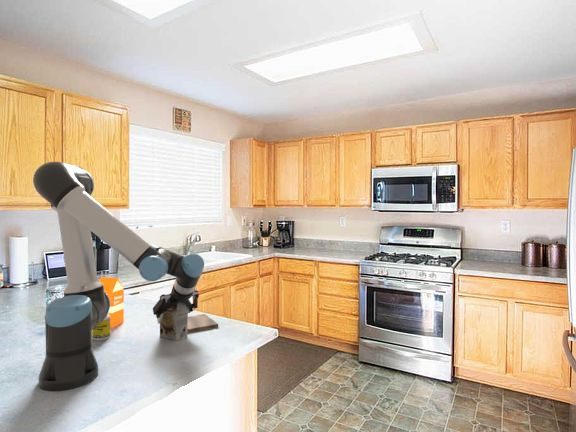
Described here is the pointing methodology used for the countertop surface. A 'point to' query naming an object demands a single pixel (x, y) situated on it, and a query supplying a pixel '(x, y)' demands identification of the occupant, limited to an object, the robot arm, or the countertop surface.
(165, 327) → the coffee box
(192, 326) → the walnut board
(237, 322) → the countertop surface
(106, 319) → the pill bottle
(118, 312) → the orange juice
